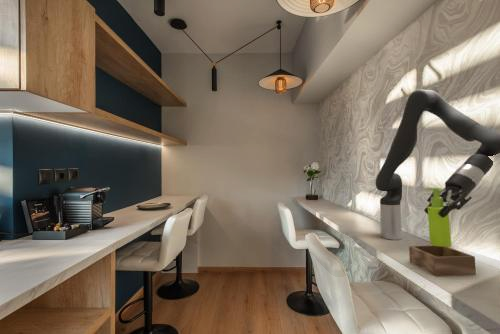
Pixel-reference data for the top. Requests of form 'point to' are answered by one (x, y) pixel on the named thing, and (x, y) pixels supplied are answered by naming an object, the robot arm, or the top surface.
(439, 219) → the soap dispenser
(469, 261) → the walnut box
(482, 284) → the top surface
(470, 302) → the top surface
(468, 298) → the top surface
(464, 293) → the top surface
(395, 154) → the robot arm
